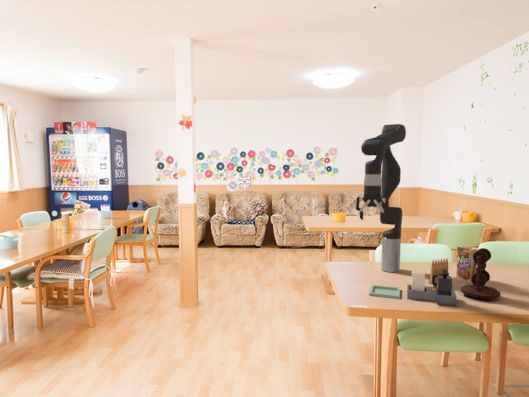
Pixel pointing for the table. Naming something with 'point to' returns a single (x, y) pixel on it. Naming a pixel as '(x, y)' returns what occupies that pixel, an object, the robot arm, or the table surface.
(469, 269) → the candy box
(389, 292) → the tray
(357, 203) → the robot arm
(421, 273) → the plug
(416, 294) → the grey charging dock
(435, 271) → the ammunition clip
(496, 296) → the turned wooden stand
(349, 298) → the table surface
